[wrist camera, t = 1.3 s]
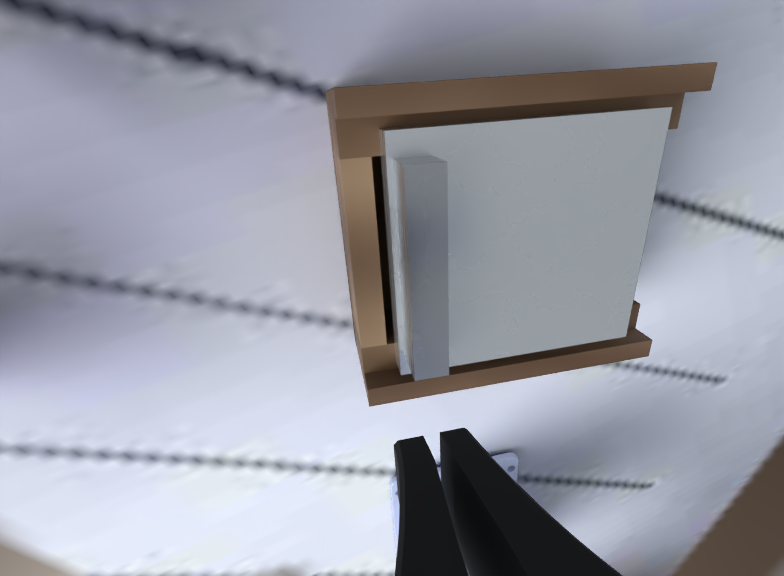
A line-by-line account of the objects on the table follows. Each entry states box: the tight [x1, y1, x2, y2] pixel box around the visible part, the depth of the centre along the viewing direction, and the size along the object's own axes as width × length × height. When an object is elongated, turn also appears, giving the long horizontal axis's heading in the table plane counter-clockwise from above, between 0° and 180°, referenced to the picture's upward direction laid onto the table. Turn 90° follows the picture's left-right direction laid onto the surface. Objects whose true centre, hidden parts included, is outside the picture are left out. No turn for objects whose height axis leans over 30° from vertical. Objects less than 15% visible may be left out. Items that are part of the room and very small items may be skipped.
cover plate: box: [379, 107, 672, 381], centre depth 14 cm, size 9×9×2 cm
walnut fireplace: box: [326, 62, 717, 407], centre depth 17 cm, size 11×12×5 cm
